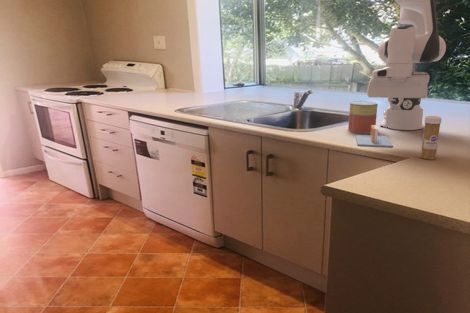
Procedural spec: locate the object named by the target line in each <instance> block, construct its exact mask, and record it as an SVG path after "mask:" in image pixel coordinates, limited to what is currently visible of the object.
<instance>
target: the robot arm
mask: <svg viewBox="0 0 470 313" xmlns="http://www.w3.org/2000/svg"><path fill="white" fill-rule="evenodd" d="M394 2H395V3H396V4H397V5H398V6H400V7H399V8H400V10H399V24H395V25H393V26H392V27H391V29H390V32H389V36H388V37H387V38H386V37H385V38H384V39H383V40H382V41H381V42H380V44H379V45H378V55H379V58H380V60H381V61H382V62H383V63H385V66H384V67H381V68H378V69H374V70H373V71H372V72H371V76H372V77H371V78H370V79H369V82H368V84H367V89H366V95H367V97H368V98H380V99H381V98H382V99H383V98H387V102H388V103H389V106H388V107H387V108H386V110H384V111H383V119H382V121H381V122H380V125H379V126H380V127H381V126H383V127H382V128H387V127H388V129H392V130H398V131H399V130H401V131H415V130H416V131H417V130H419V129H420V130H421V129H424V127H425V124H423V116H424V115H423V114H424V109H423V108H422V107H421V101H422V99H426V98H427V96H428V85H429V82H430V78H431V77H430V74H429V73H427V72H426V71H414V70H413V66H414V64H417V63H419V64H431V63H432V62H433V63H434V62H439V60H441V59H442V58H443V56H444V55H445V53H446V49H447V44H446V41H445V39H443V38H444V37H441V36H440V34H439V28H438V19H437V11H436V2H435V0H394Z"/></svg>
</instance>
